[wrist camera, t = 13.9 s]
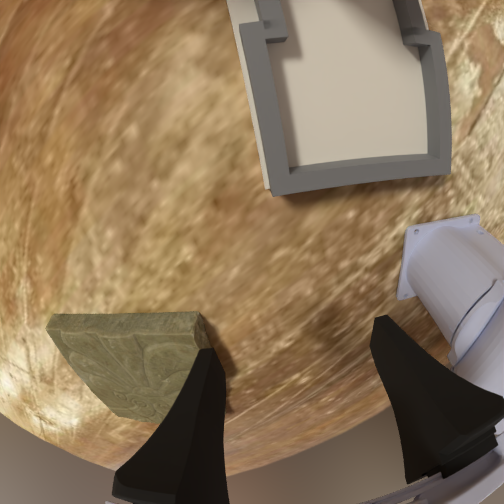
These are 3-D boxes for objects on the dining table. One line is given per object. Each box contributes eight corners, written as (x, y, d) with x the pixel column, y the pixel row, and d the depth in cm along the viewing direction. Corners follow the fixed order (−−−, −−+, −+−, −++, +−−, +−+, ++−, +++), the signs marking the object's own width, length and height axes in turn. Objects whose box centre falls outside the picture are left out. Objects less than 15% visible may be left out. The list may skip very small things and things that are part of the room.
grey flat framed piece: (385, -70, 6) (398, -80, 4) (435, 165, 18) (453, 174, 15) (206, -77, 7) (203, -93, 5) (264, 185, 18) (267, 197, 16)
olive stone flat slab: (120, 402, 35) (115, 420, 32) (52, 310, 25) (39, 331, 22) (236, 406, 35) (237, 427, 32) (206, 304, 24) (202, 333, 21)
